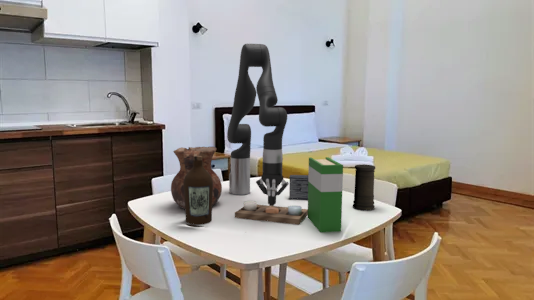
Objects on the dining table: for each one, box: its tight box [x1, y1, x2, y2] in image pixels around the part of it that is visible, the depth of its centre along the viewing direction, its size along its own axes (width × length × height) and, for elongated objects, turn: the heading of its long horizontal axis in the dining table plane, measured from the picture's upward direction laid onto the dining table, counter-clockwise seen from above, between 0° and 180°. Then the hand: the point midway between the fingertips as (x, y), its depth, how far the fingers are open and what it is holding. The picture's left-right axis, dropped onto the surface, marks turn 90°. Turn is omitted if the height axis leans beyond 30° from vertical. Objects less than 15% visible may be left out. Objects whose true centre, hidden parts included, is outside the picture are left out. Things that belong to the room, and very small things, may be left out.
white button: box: [243, 200, 257, 211], centre depth 163 cm, size 5×5×2 cm
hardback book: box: [307, 156, 344, 233], centre depth 150 cm, size 18×7×24 cm, turn 8°
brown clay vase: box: [170, 146, 223, 210], centre depth 176 cm, size 22×21×25 cm
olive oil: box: [183, 156, 213, 228], centre depth 153 cm, size 11×11×25 cm
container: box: [352, 164, 376, 211], centre depth 176 cm, size 9×9×18 cm
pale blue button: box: [288, 205, 303, 216], centre depth 158 cm, size 5×5×2 cm
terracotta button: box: [266, 207, 279, 214], centre depth 161 cm, size 5×5×2 cm
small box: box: [288, 174, 308, 201], centre depth 192 cm, size 11×6×10 cm, turn 84°
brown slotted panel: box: [234, 204, 308, 226], centre depth 161 cm, size 25×14×3 cm, turn 71°
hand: (272, 205), depth 160 cm, fingers closed
